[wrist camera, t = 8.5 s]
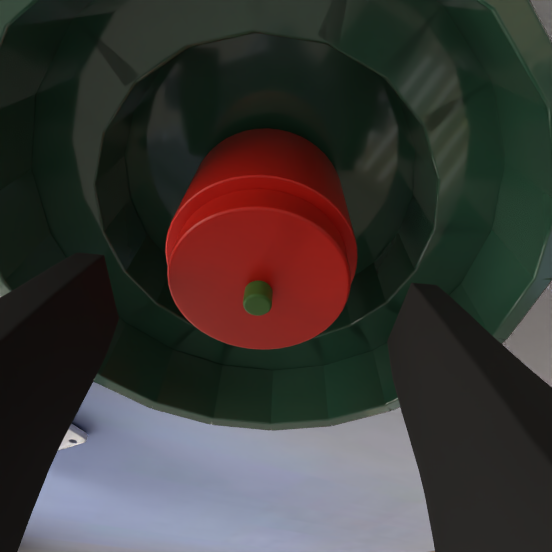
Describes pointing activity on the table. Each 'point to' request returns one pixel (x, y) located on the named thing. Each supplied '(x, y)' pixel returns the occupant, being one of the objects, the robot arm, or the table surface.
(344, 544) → the table surface
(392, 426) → the table surface
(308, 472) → the table surface
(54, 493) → the table surface
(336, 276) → the pepper
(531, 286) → the green round bowl
